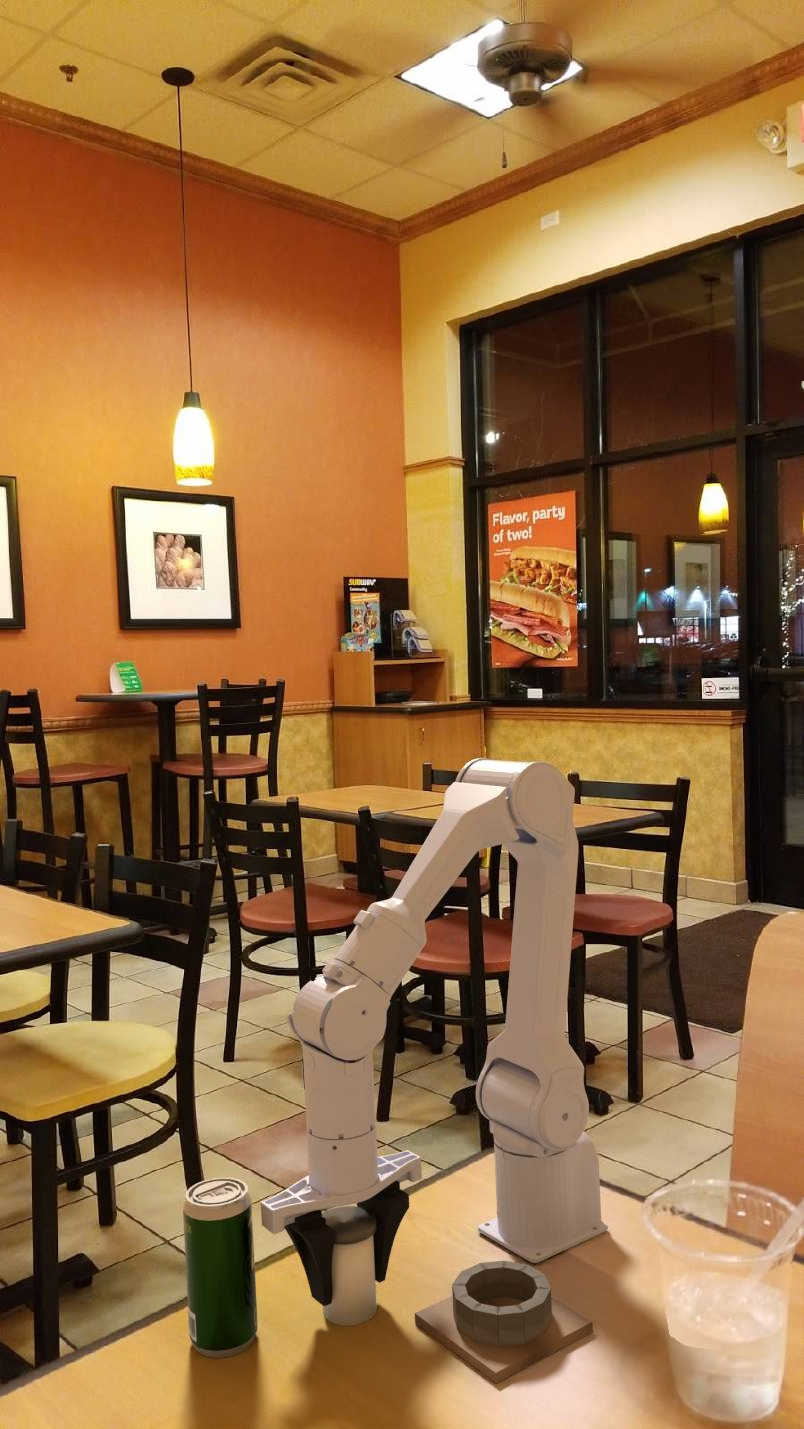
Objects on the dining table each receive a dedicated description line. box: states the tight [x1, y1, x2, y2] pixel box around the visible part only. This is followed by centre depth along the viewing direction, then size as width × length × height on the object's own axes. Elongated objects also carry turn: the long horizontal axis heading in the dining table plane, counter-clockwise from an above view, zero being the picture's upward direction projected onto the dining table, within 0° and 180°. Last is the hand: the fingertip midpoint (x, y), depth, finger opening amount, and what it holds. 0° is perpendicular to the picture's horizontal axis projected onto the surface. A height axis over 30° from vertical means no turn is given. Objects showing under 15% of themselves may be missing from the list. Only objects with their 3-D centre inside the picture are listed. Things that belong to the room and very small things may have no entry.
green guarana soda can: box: [182, 1177, 259, 1359], centre depth 88 cm, size 5×5×12 cm
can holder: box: [414, 1260, 594, 1384], centre depth 88 cm, size 10×10×3 cm
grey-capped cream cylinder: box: [322, 1205, 378, 1326], centre depth 92 cm, size 5×5×8 cm
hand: (348, 1288), depth 92 cm, fingers closed on grey-capped cream cylinder, 5 cm apart
